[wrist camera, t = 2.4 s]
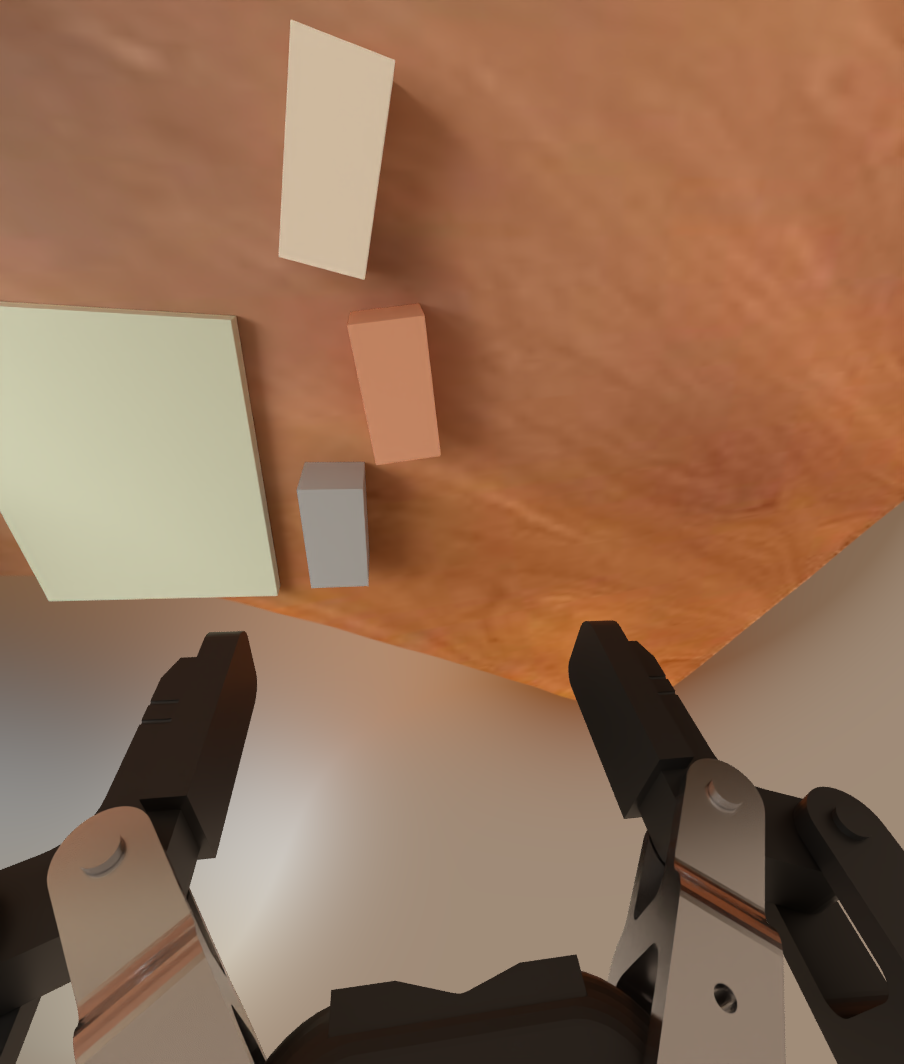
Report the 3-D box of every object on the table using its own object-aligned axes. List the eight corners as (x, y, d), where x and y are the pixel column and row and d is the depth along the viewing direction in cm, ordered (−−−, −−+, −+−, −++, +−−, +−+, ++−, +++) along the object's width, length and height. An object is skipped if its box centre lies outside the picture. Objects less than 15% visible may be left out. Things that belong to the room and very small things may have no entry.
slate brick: (305, 460, 32) (296, 489, 29) (364, 460, 33) (362, 489, 29) (317, 554, 37) (311, 588, 33) (369, 552, 37) (368, 585, 34)
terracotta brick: (350, 311, 27) (346, 325, 24) (419, 302, 27) (424, 315, 24) (376, 438, 32) (376, 465, 29) (434, 430, 32) (440, 455, 29)
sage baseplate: (-95, 295, 24) (-115, 299, 23) (236, 315, 26) (230, 320, 25) (58, 590, 35) (49, 601, 34) (280, 585, 38) (277, 595, 37)
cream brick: (304, 48, 21) (290, 19, 18) (393, 81, 22) (395, 60, 19) (291, 250, 25) (278, 256, 22) (366, 270, 26) (364, 279, 23)
